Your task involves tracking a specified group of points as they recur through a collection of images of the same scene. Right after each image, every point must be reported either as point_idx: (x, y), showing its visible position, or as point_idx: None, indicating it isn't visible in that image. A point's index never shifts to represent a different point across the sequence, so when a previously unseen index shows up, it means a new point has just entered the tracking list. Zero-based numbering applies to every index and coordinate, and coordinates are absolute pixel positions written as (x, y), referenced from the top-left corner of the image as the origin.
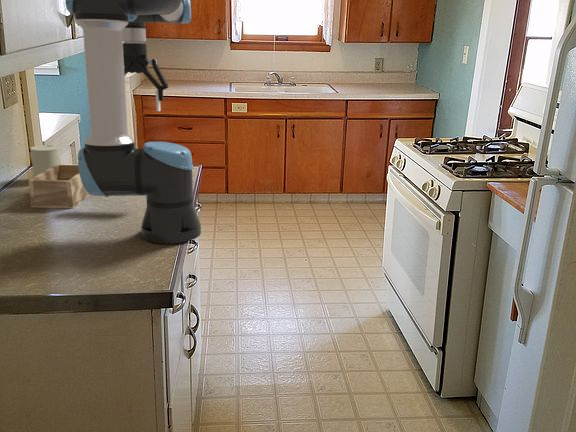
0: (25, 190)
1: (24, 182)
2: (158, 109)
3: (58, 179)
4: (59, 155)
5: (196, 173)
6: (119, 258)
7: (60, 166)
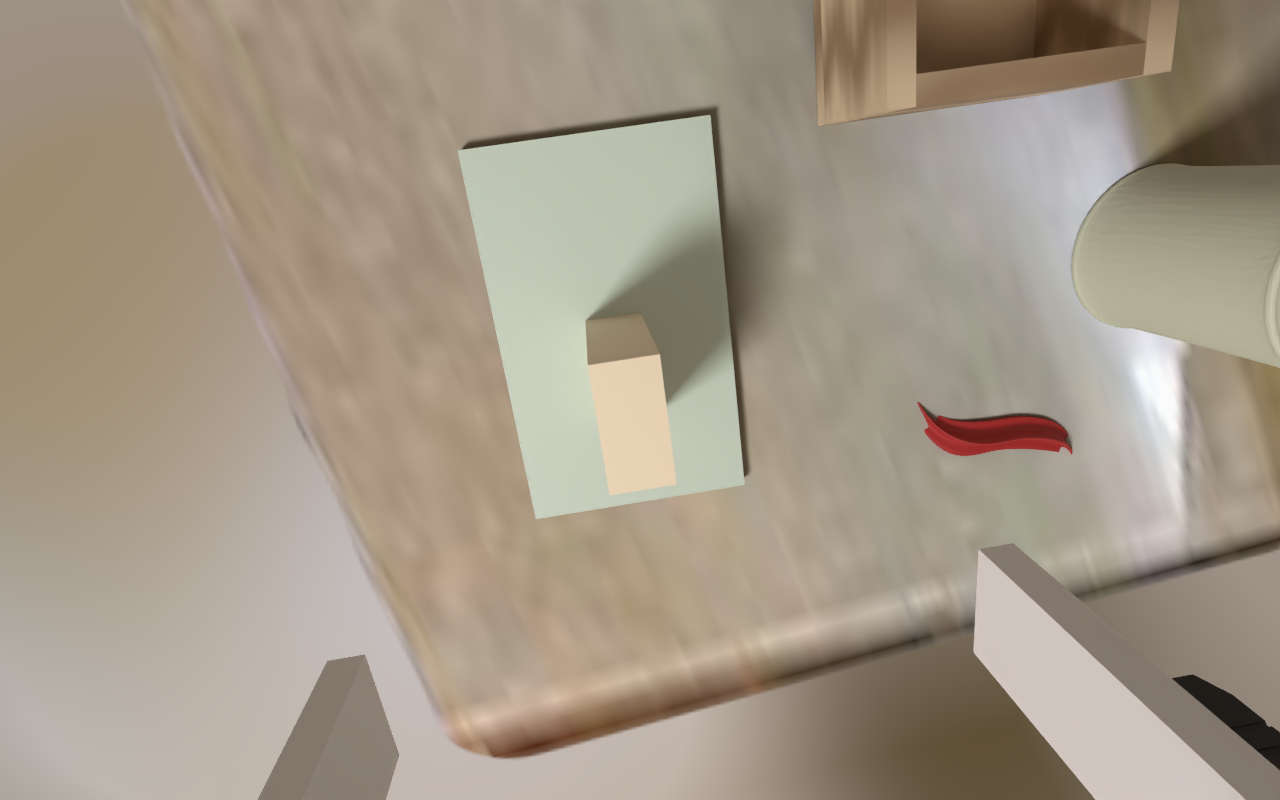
0: (1221, 9)
1: None
2: (319, 683)
3: (1074, 27)
4: (1216, 284)
5: (392, 619)
6: None
7: (1128, 46)
